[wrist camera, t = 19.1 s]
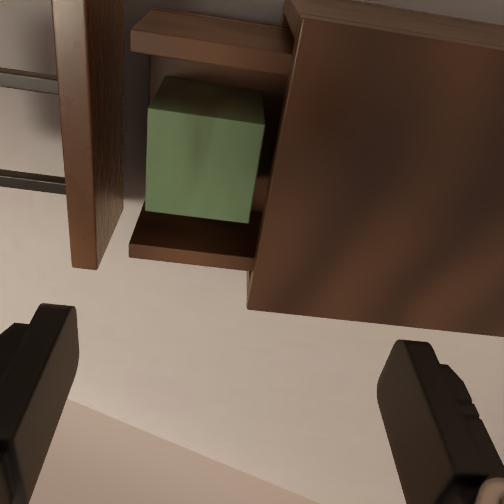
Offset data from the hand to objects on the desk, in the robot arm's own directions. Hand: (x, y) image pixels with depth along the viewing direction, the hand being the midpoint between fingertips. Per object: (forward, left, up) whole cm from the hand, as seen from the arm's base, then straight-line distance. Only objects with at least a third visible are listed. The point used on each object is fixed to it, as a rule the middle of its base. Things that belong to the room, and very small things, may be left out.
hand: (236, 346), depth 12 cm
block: (+1, 0, -12) cm, 12 cm away
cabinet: (+9, 0, -16) cm, 19 cm away
